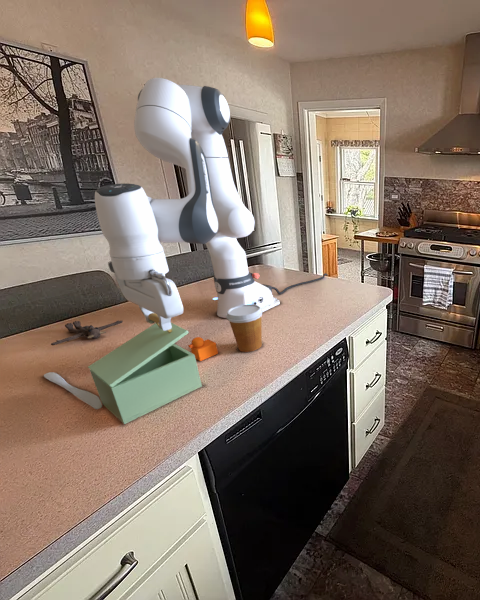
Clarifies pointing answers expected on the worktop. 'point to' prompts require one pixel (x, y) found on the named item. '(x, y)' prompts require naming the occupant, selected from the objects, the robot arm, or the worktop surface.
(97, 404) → the butter knife
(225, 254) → the robot arm
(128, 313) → the worktop surface
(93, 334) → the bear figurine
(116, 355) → the lid
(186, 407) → the worktop surface
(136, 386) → the chest
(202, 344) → the rubber duck
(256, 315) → the disposable coffee cup
